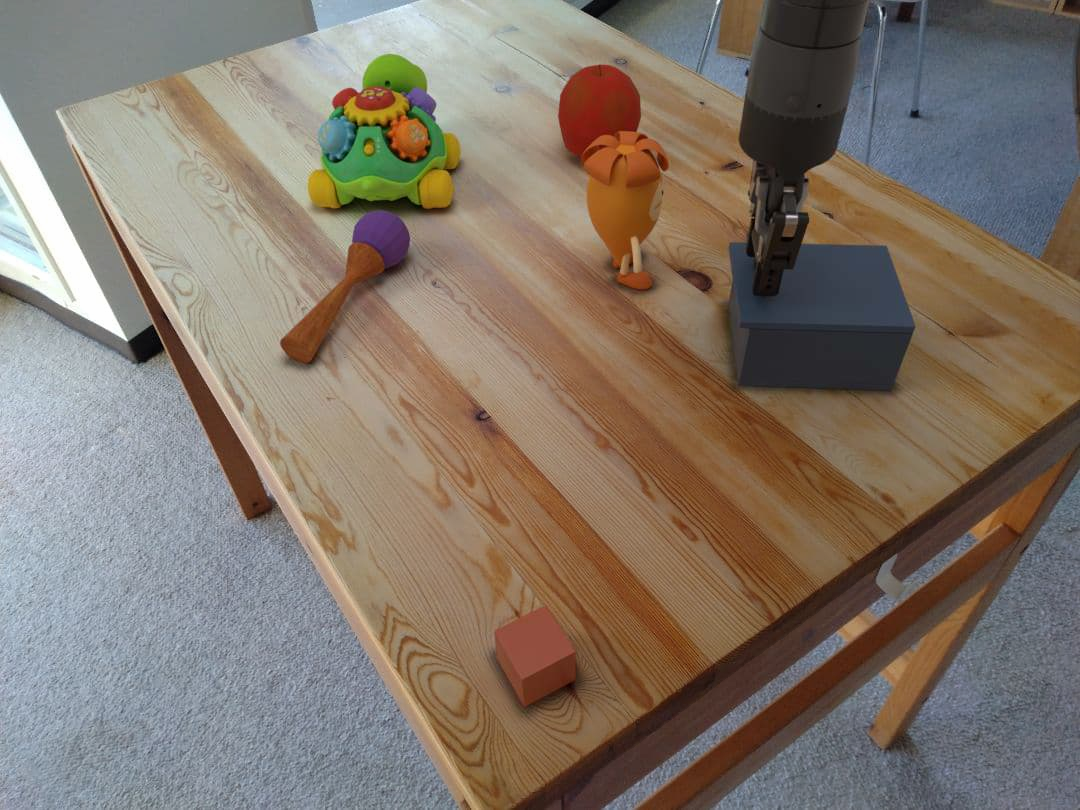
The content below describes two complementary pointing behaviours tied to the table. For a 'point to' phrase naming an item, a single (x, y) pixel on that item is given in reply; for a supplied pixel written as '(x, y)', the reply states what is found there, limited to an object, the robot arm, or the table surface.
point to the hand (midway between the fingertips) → (760, 272)
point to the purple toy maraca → (351, 278)
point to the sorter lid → (824, 291)
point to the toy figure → (625, 197)
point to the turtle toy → (385, 142)
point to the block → (535, 655)
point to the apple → (597, 106)
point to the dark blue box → (816, 357)
